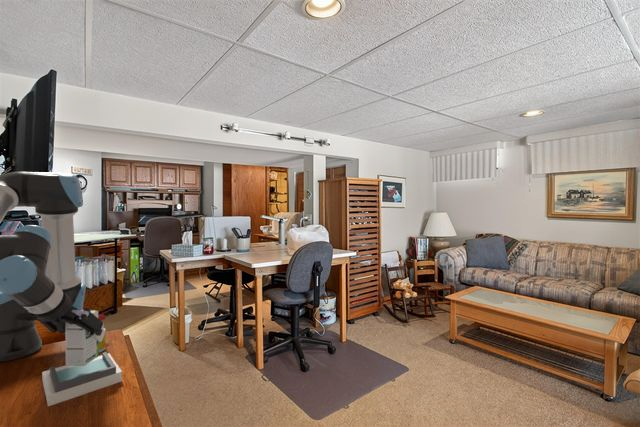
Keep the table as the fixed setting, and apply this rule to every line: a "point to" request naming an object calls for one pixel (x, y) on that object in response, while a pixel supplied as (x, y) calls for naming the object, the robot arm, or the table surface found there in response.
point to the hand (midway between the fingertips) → (90, 337)
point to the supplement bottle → (102, 344)
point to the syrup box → (80, 344)
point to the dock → (80, 379)
